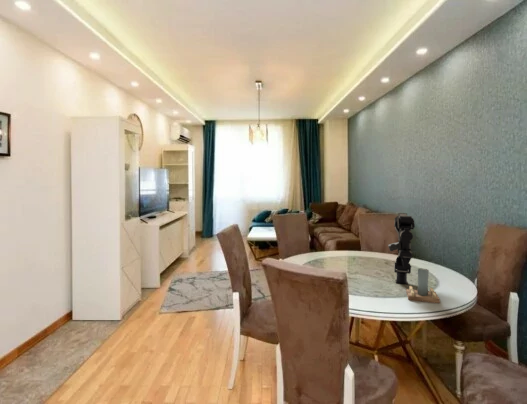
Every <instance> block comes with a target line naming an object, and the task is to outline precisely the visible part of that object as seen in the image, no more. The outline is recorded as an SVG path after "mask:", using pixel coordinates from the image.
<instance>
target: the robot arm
mask: <svg viewBox="0 0 527 404" xmlns="http://www.w3.org/2000/svg"><path fill="white" fill-rule="evenodd" d="M393 224H394V225H393V227H394V228H395V232H396V233H397V240H398V241H397V242H393V243H389V244H387V245H388V249H389V251H390V252H394V251H396V250H397V252H398V253H397V254H398V255H397V256H396V259H395V262H394V265H393V271H394V273H396V279H395V280H394V281H395V283H396V284H402V285H408V284H409V283H408V277H407V276H408V274H409V275H410V274H411V273H412V272H411V270H412V265H411V263H410V262H411V260H412V259H413V252H412V250H411V244H412V240H413V237H414V235H413V233H412V231H411V230H414V229H415V227H416V225H415V220H414V218H413V217H412V215H408V213H406V212H398V214H397V216H396V217H394V223H393Z"/></svg>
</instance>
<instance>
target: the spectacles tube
mask: <svg viewBox="0 0 527 404" xmlns="http://www.w3.org/2000/svg"><path fill="white" fill-rule="evenodd" d="M417 270H418V271H417V290H418V291H417V294H418V295H420V296H428V291H429V274H430V273H429V271H430V270H429V268H422V267H421V268H418V269H417Z"/></svg>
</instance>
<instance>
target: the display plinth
mask: <svg viewBox="0 0 527 404" xmlns="http://www.w3.org/2000/svg"><path fill="white" fill-rule="evenodd" d="M405 290H406V296H407V299H408V301H414V302H423V303H432V304H433V303H434V304H440V298H439V296H438V294H437V292H436V291H435V290H434V288H433V287H429V290H428V296H420V295H418V294H417V291H418V289H413V286H412V285H409V287H408V288H406V289H405Z"/></svg>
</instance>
